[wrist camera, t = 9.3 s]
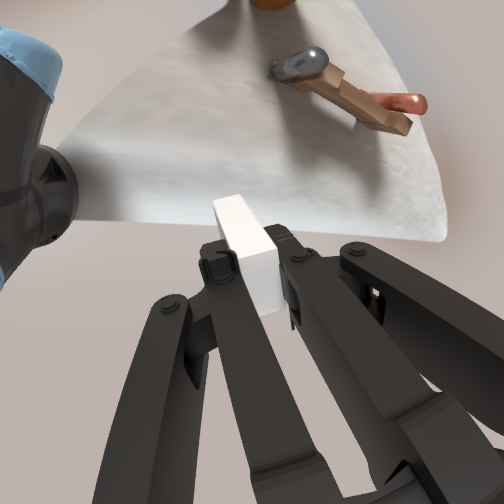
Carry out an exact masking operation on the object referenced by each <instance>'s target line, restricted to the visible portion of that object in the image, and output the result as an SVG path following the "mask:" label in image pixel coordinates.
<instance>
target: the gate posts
mask: <svg viewBox="0 0 504 504" xmlns="http://www.w3.org/2000/svg"><path fill="white" fill-rule="evenodd" d="M328 63H329V57H328V55H327V53H326V52H325V51H324V50H323V49H321V48H319V47H311V48H309V49H307V50H304V51H302V52H300V53H298V54H296V55H293V56H291V57H289V58H287V59H285V60H283V61H281V62H279V61H276V60H273V61H272V65H271V68H270V71H269V74H268V77H267V78H270V79H273V80H276V81H279V82H281V83H284V84H287V82H288V79H289V78H293V77H297V76H301V75H304V74H308V73H312V72H316V71H321V70H323V69H325V68H326V67H327V66H328ZM360 91H361V92H363V93H364V94H366V95H367V96H369V97H370V98H371V99H373V100H374V101H376V102H377V103H378V104H380V105H381V106H382V107H384V108H385V109H386V110H388V111H393V112H402V113H410V114H417V115H423V114H425V113H426V111H427V108H428V104H427V100H426V99H425V97H424V96H423V95H421V94H406V93H368V92H366V91H364V90H362V89H360Z"/></svg>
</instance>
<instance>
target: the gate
mask: <svg viewBox="0 0 504 504" xmlns="http://www.w3.org/2000/svg"><path fill="white" fill-rule="evenodd" d="M344 74H345V72H344V71H343V70H341V69H339V68H338V67H336V66H335V65H333V64H331V63H330V62H329V63H328V66H327V67H326V68H325V69H323V70H321V71H316V72H312V73H308V74H304V75H301V76H297V77H294V78H293V80H292V82H291V85H293V86H294V87H296V88H298V89H300V90H302V91H313V92H315V93H317V94H318V95H320V96H322V97H323V98H325V99H327V100H329V101H330V102H332V103H334V104H335V105H337V106H338V107H340V108H342V109H343V110H345V111H346V112H348V113H350V114H351V115H353V116H354V117H356V120H357V121H359V122H360V123H362V124H363V125H365V126H366V127H368V128H369V129H373V130H378V131H383V132H388V133H393V134H397V135H402V136H406V137H407V135H408V133H409V130H410V128H411V126H412V124H413V122H412V121H411V120H410V119H409V118H408V117H406V116H405V115H404V114H403V113H400V112H391V111H388V110H386V109H385V108H384V107H382V106H381V105H380V104H378V103H377V102H376V101H374V100H373V99H371V98H370V97H369V96H367V95H366V94H364V93H363V92H361V91H360V90H359V89H357V88H356V87H354V86H353V85H351V84H350V83H348V82H347V81H345V80H343V79H342V78H343V76H344Z"/></svg>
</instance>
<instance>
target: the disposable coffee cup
mask: <svg viewBox="0 0 504 504" xmlns="http://www.w3.org/2000/svg"><path fill="white" fill-rule="evenodd" d="M251 1H252V2H253V3H254V4H255V5H257V6H259V7H261V8H263V9H268V10H277V9H280V8H283V7H285V6H286V5H288V4H290V3H292V2H294V1H296V0H251Z"/></svg>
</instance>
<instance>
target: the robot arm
mask: <svg viewBox="0 0 504 504" xmlns="http://www.w3.org/2000/svg"><path fill="white" fill-rule="evenodd" d="M61 71H62V59H61V57H60V55H59V54H58V53H57V51H56V50H54V49H53V48H52V47H50V46H49V45H47V44H45V43H44V42H42V41H40V40H38V39H36V38H33V37H31V36H29V35H26V34H24V33H21V32H18V31H15V30H12V29H9V28H1V27H0V291H1V290H2V288H3V285H4V283H5V282H6V281H7V280H8V279H9V277H10V276H11V275H12V274H13V272H14V271H15V270H16V269H17V267H18V266H19V265H20V264H21V263H22V261H23V260H24V259H25V258H26V257H27V256H28V254H29V253H30V252H31V251H32V250H33V249H34V248H38V247H41V246H45V245H47V244H50V243H52V242H54V241H55V240H56V239H58V238H59V237H60V236H61V235H62V234H63V233H64V232H65V231H66V229H67V228H68V227H69V225H70V224H71V222H72V221H73V219H74V216H75V213H76V210H77V205H78V187H77V182H76V178H75V175H74V173H73V171H72V168H71V167H70V165H69V163H68V162H67V161H66V159H65V158H64V157H63V156H62V155H61V154H60V153H59V152H57V151H56V150H54V149H53V148H51V147H48V146H45V145H40V144H39V142H40V139H41V135H42V131H43V127H44V124H45V121H46V117H47V114H48V111H49V108H50V105H51V104H52V103H53V101H54V92H55V89H56V86H57V83H58V80H59V76H60V74H61ZM212 204H213V208H214V212H215V216H216V220H217V224H218V228H219V232H220V237H221V240H218V241H214V242H211V243H207V244H203V246H202V248H201V249H200V255H201V259H200V260H199V264H198V265H199V267H200V271H201V274H202V277H203V281H204V284H205V286H204V288H203V289H202V290H201V292H199V293H198V294H197V295H195V296H193V297H191V298H190V299H187V298H186V297H185V296H183V295H180V294H172V295H168V296H165V297H163V298H161V299H159V300H158V301H157V302H156V303H154V305H153V307H152V308H151V311H150V314H149V316H148V319H147V321H146V324H145V327H144V329H143V332H142V335H141V338H140V340H139V344H138V346H137V349H136V352H135V354H134V358H133V360H132V363H131V367H130V369H129V372H128V375H127V378H126V381H125V384H124V387H123V390H122V393H121V397H120V400H119V403H118V406H117V410H116V413H115V416H114V420H113V423H112V426H111V430H110V433H109V437H108V440H107V444H106V448H105V452H104V455H103V459H102V463H101V467H100V471H99V475H98V479H97V483H96V488H95V492H94V496H93V501H92V504H193V499H194V487H195V477H196V467H197V455H198V447H199V437H200V427H201V419H202V410H203V401H204V393H205V385H206V376H207V368H208V359H209V354H208V352H210V351H211V350H213V349H215V348H217V347H218V348H219V353H220V357H221V362H222V365H223V370H224V374H225V378H226V382H227V386H228V390H229V394H230V398H231V402H232V406H233V410H234V413H235V417H236V421H237V425H238V428H239V432H240V436H241V439H242V443H243V447H244V450H245V454H246V457H247V461H248V464H249V468H250V479H251V484H252V487H253V491H254V495H255V498H256V501H257V504H504V450H501V449H497V448H494V447H493V446H492V445H491V443H490V442H489V440H488V439H487V438H486V436H485V435H484V433H483V432H482V431H481V429H480V428H479V427H478V425H477V424H476V423H475V422H474V420H473V419H472V417H471V416H470V415H469V413H470V414H471V415H472V416H474V417H475V418H476V419H477V420H479V421H480V422H482V423H483V424H484V425H485V426H487V427H488V428H490V429H491V430H493V431H495V432H497V433H499V434H501V435H503V436H504V320H502V319H501V318H499V317H498V316H496V315H494V314H493V313H491V312H490V311H488V310H486V309H485V308H483V307H481V306H480V305H478V304H476V303H475V302H473V301H471V300H469V299H468V298H466V297H465V296H463V295H461V294H460V293H458V292H456V291H454V290H453V289H451V288H449V287H447V286H446V285H444V284H442V283H440V282H439V281H437V280H435V279H433V278H432V277H430V276H428V275H426V274H424V273H422V272H421V271H419V270H417V269H415V268H414V267H411V266H410V265H408V264H406V263H404V262H402V261H400V260H399V259H397V258H395V257H393V256H391V255H389V254H387V253H385V252H383V251H382V250H380V249H378V248H376V247H374V246H372V245H370V244H367V243H364V242H351V243H348V244H345V245H344V246H342V247H341V249H340V256H332V257H321V256H320V255H319V254H318V253H317V252H316V251H315V250H314V249H311V248H304V247H303V246H302V245H301V244H300V243H299V242H298V240H297V239H296V238H295V237H294V236H293V234H292V233H290V231H289V230H288V229H287V228H286V227H285V226H282V225H280V224H275V225H271V226H267V227H262V226H261V224H260V223H259V221H258V220H257V218H256V217H255V216H254V214H253V213H252V211H251V210H250V209H249V207H248V206H247V204H246V203H245V202H244V200H243V199H242V197H241V196H240V194H237V195H233V196H229V197H225V198H222V199H218V200H214V201H212ZM373 288H374V289H376V290H377V291H379V296H376V295H375V294H373ZM285 300H286V301H287V303H288V305H289V312H290V319H291V327H292V330H294V329H295V327H294V325H295V326H296V328H297V330H298V331H299V333H300V335H301V337H302V339H303V341H304V342H305V345H306V346H307V348H308V350H309V352H310V354H311V356H312V357H313V359H314V361H315V363H316V365H317V367H318V369H319V371H320V373H321V374H322V376H323V378H324V380H325V382H326V384H327V386H328V387H329V389H330V391H331V393H332V395H333V397H334V399H335V401H336V403H337V404H338V406H339V408H340V410H341V412H342V414H343V416H344V418H345V419H346V421H347V423H348V425H349V427H350V429H351V430H352V433H353V434H354V436H355V438H356V440H357V442H358V444H359V445H360V447H361V450H362V451H363V453H364V455H365V457H366V459H367V462H368V466H369V473H370V476H371V479H372V481H373V483H374V485H375V487H376V489H377V491H374V492H370V493H366V494H361V495H357V496H351V497H346V498H343V496H342V494H341V492H340V490H339V488H338V485H337V483H336V481H335V479H334V477H333V475H332V472H331V470H330V468H329V467H328V464H327V462H326V460H325V459H324V457H323V456H322V454H321V453H319V452H318V451H317V449H316V447H315V445H314V443H313V441H312V439H311V437H310V434H309V432H308V430H307V427H306V425H305V423H304V421H303V418H302V416H301V414H300V412H299V409H298V407H297V405H296V403H295V400H294V398H293V395H292V393H291V391H290V388H289V386H288V384H287V382H286V379H285V377H284V375H283V372H282V370H281V368H280V365H279V363H278V361H277V358H276V356H275V353H274V351H273V349H272V346H271V345H270V342H269V339H268V337H267V335H266V332H265V330H264V328H263V325H262V323H261V320H260V318H259V316H263V315H266V314H269V313H272V312H276V311H279V310H282V309H286V304H285ZM419 373H420V374H421V375H422V376H424V377H425V378H426V379H427V380H429V381H430V382H431V383H432V384H434V385H435V386H436V387H438V388H439V389H440V390H441V391H442V392H435V391H433V390H432V389H431V388H430V387H429V385H428V384H427V383H426V382H425V380H424V379H423V378H422V376H421V375H420V374H419ZM468 412H469V413H468Z"/></svg>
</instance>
